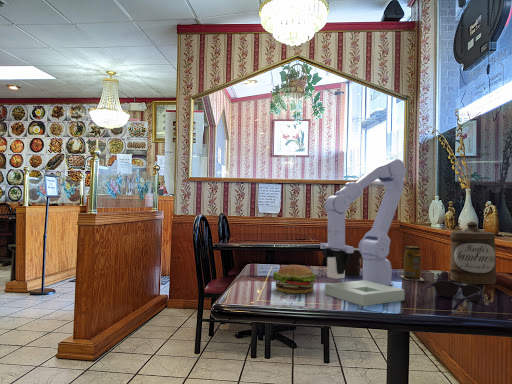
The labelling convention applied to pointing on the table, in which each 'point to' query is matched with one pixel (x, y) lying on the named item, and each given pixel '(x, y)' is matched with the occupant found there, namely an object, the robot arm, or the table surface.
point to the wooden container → (473, 256)
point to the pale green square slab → (364, 292)
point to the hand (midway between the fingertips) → (336, 272)
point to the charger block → (333, 269)
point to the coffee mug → (354, 263)
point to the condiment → (412, 263)
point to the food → (294, 279)
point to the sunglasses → (456, 291)
